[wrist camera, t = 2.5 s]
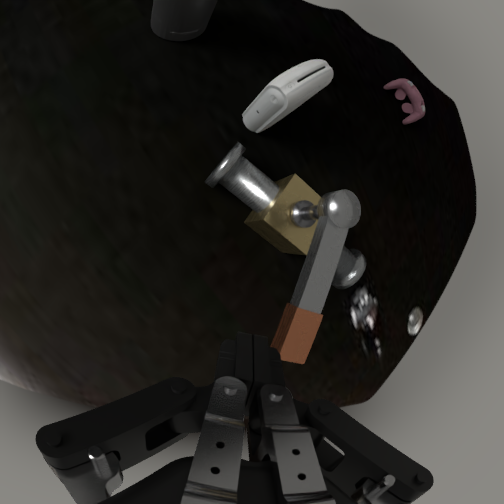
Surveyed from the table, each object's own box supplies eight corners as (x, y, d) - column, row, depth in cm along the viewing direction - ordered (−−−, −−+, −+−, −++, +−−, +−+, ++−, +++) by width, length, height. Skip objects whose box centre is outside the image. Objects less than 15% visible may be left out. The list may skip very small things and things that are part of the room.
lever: (323, 186, 27) (337, 182, 25) (349, 202, 28) (364, 199, 26) (265, 350, 26) (276, 360, 23) (296, 357, 27) (308, 366, 25)
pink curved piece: (405, 124, 51) (430, 114, 46) (403, 126, 48) (431, 116, 43) (384, 85, 49) (410, 74, 44) (381, 85, 46) (408, 73, 41)
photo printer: (254, 139, 38) (296, 104, 26) (235, 116, 37) (270, 74, 25) (300, 107, 40) (346, 73, 28) (283, 87, 39) (325, 48, 27)
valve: (199, 188, 36) (223, 164, 24) (230, 149, 37) (266, 113, 25) (325, 287, 43) (382, 303, 31) (346, 250, 44) (405, 255, 32)
